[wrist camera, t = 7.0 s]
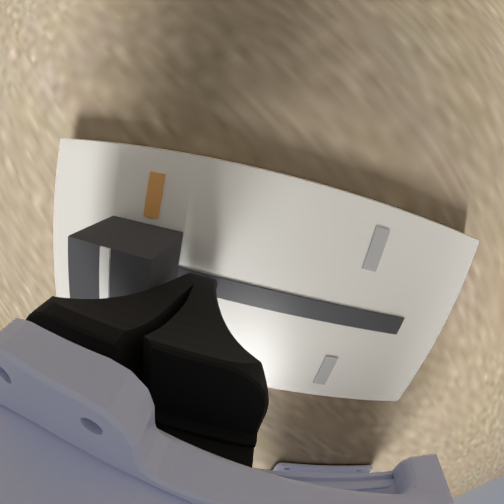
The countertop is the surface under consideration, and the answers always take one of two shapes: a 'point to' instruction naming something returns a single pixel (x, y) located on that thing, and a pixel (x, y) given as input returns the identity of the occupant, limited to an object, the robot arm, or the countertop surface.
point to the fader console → (281, 261)
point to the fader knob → (121, 258)
